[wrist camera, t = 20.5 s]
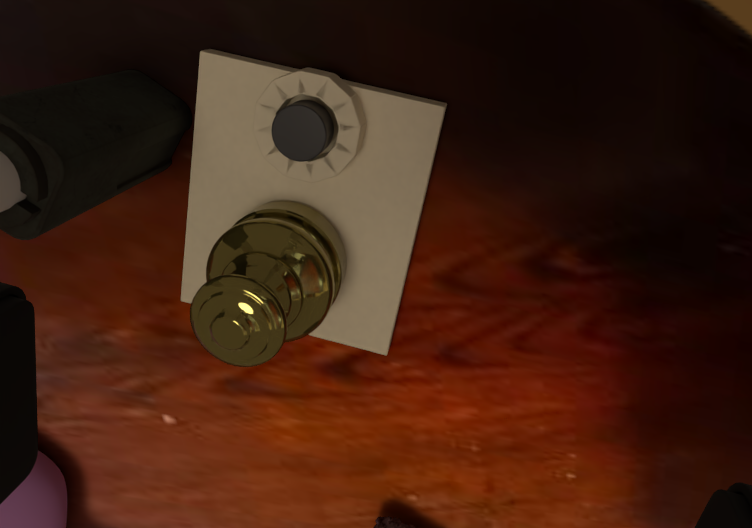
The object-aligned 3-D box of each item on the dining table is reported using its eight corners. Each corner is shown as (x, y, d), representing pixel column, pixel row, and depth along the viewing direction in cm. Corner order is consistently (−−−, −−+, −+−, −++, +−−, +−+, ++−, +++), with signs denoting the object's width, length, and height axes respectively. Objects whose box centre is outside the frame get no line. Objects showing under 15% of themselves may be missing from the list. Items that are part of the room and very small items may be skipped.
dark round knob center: (285, 93, 35) (274, 98, 34) (338, 106, 35) (330, 111, 33) (277, 147, 36) (267, 154, 35) (329, 160, 36) (321, 167, 35)
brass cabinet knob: (347, 200, 38) (298, 266, 29) (350, 315, 41) (307, 406, 32) (227, 195, 39) (145, 257, 30) (239, 307, 42) (166, 393, 33)
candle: (164, 178, 41) (-252, 405, 19) (95, 131, 41) (-415, 305, 18) (198, 111, 39) (-222, 274, 17) (126, 61, 39) (-406, 158, 16)
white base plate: (210, 40, 38) (187, 44, 35) (449, 95, 36) (444, 103, 34) (189, 291, 44) (168, 311, 42) (390, 345, 43) (382, 369, 40)
